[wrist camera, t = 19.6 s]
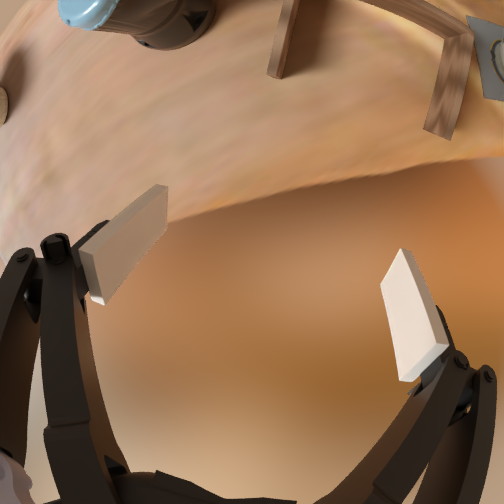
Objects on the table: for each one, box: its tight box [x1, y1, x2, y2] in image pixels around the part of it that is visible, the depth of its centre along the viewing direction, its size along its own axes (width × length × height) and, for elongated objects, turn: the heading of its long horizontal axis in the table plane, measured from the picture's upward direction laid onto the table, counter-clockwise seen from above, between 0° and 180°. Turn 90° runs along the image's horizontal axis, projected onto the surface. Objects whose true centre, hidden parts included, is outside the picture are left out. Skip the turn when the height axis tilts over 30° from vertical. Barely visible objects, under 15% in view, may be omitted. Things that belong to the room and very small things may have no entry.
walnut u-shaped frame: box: [267, 0, 475, 141], centre depth 26 cm, size 19×26×8 cm
